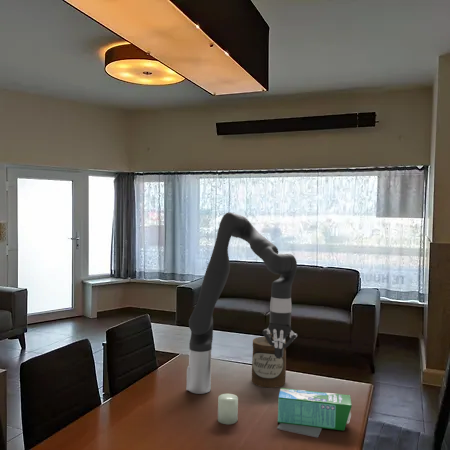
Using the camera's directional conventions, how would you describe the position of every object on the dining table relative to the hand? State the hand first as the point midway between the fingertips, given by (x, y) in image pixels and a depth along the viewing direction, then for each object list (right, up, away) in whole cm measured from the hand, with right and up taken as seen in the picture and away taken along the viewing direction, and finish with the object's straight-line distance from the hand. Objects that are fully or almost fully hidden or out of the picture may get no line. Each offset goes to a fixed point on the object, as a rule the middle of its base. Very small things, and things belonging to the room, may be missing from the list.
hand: (278, 358), depth 161 cm
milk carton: (0, -17, +2) cm, 17 cm away
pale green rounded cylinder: (-18, -22, 0) cm, 29 cm away
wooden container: (0, -22, +38) cm, 43 cm away
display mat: (+8, -23, -3) cm, 24 cm away
